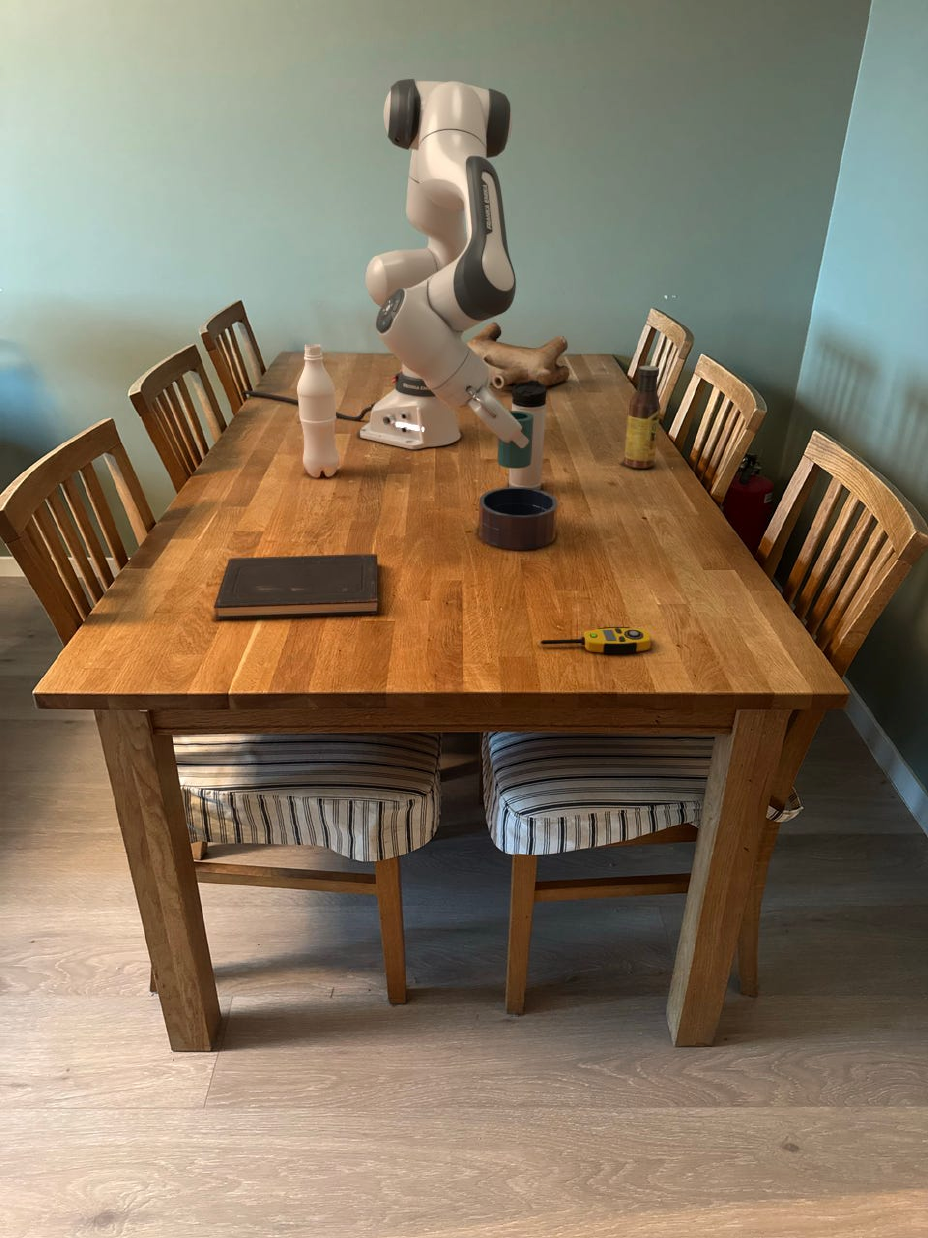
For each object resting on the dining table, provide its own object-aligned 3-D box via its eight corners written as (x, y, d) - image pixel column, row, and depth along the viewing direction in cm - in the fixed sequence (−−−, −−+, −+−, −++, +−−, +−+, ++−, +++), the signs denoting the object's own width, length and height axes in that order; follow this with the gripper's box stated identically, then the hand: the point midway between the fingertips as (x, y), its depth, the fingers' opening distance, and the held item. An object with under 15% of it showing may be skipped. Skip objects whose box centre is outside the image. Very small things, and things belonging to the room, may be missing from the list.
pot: (467, 542, 148) (468, 509, 145) (493, 513, 159) (494, 482, 156) (543, 555, 144) (545, 522, 141) (563, 525, 155) (566, 493, 152)
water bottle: (346, 470, 177) (339, 343, 164) (327, 482, 171) (318, 351, 159) (316, 464, 179) (307, 339, 167) (296, 476, 174) (285, 347, 161)
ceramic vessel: (483, 312, 243) (427, 339, 227) (579, 337, 229) (527, 368, 213) (482, 357, 251) (428, 386, 235) (575, 384, 237) (524, 417, 221)
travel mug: (545, 483, 172) (551, 381, 162) (536, 495, 166) (542, 390, 156) (514, 479, 173) (518, 378, 163) (504, 491, 168) (508, 387, 158)
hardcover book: (378, 614, 127) (377, 600, 125) (216, 620, 125) (213, 606, 124) (377, 564, 140) (377, 551, 139) (231, 569, 139) (229, 556, 137)
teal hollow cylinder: (493, 466, 144) (494, 418, 141) (503, 455, 149) (505, 409, 145) (525, 470, 143) (527, 422, 139) (534, 459, 147) (537, 412, 143)
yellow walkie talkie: (654, 641, 117) (543, 644, 116) (653, 653, 118) (542, 656, 117) (645, 623, 121) (538, 625, 120) (644, 635, 122) (537, 637, 121)
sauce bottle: (653, 471, 178) (665, 373, 168) (622, 468, 179) (632, 371, 169) (653, 460, 184) (665, 364, 174) (623, 458, 185) (633, 362, 175)
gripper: (491, 382, 128) (551, 443, 134) (461, 350, 145) (516, 405, 152) (461, 414, 129) (522, 472, 136) (435, 378, 146) (490, 432, 153)
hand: (519, 436), depth 144 cm, fingers closed on teal hollow cylinder, 5 cm apart
